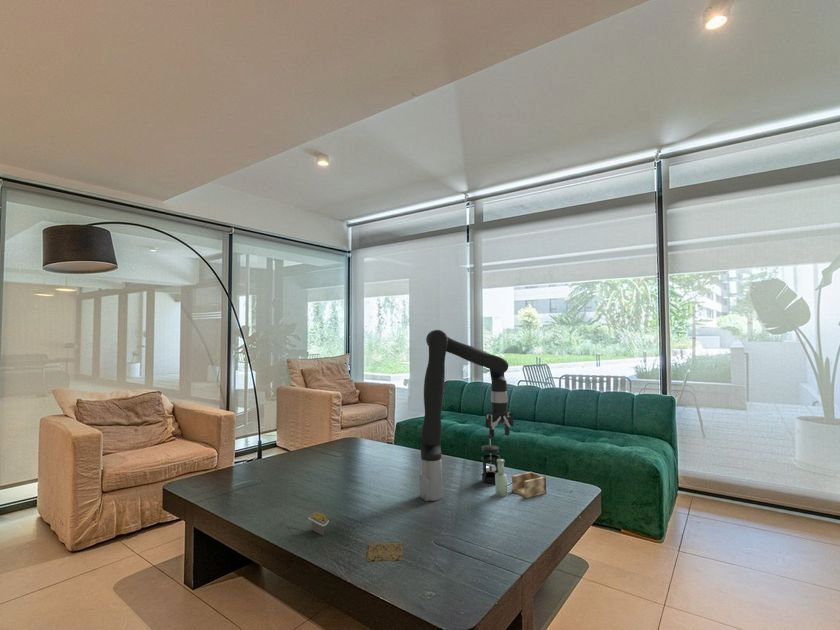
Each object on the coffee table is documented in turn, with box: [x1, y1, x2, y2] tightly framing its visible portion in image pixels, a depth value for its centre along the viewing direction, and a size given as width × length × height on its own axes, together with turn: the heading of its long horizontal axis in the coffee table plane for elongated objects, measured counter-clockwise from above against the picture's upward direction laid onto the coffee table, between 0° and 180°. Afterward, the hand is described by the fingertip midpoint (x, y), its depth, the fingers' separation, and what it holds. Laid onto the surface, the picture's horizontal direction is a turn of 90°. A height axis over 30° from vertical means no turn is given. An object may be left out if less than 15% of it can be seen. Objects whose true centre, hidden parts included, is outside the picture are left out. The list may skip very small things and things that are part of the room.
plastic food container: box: [308, 511, 330, 537], centre depth 158 cm, size 12×18×7 cm, turn 46°
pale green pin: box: [494, 458, 508, 498], centre depth 193 cm, size 5×5×16 cm
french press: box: [480, 434, 501, 486], centre depth 210 cm, size 12×9×23 cm
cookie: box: [366, 542, 404, 563], centre depth 142 cm, size 12×12×1 cm
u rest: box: [511, 471, 548, 499], centre depth 195 cm, size 12×10×7 cm
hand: (499, 436), depth 195 cm, fingers open, 8 cm apart
